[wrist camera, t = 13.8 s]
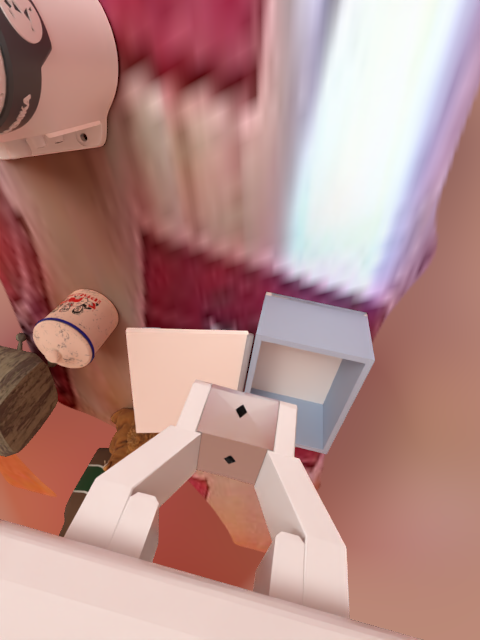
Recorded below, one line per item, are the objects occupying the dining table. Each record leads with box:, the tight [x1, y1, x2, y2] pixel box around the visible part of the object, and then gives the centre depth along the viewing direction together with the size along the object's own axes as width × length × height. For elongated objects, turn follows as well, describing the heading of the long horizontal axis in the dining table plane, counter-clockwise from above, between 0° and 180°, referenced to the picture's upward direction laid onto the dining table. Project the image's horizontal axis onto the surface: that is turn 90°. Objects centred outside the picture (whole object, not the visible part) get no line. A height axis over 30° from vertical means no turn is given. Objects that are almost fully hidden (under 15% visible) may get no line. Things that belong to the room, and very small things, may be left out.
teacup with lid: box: [33, 289, 118, 368], centre depth 53 cm, size 12×9×12 cm
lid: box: [126, 327, 254, 433], centre depth 46 cm, size 20×15×1 cm
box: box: [244, 292, 375, 454], centre depth 50 cm, size 20×14×10 cm
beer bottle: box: [59, 448, 112, 537], centre depth 76 cm, size 8×8×24 cm
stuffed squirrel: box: [103, 408, 159, 471], centre depth 67 cm, size 10×14×13 cm
